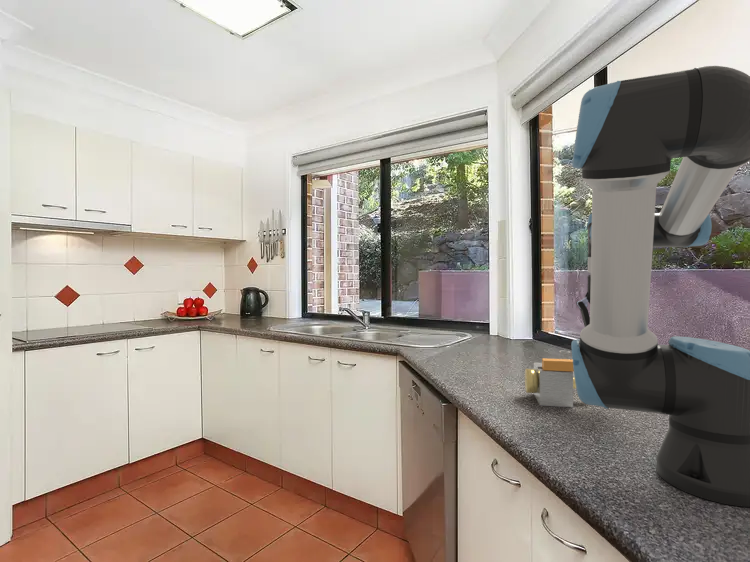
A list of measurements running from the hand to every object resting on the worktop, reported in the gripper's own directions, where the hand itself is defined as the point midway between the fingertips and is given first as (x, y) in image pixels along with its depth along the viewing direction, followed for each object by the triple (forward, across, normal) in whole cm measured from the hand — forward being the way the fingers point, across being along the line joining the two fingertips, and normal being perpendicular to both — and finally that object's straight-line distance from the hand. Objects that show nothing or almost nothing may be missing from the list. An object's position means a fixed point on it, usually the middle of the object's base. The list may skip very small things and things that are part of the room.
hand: (603, 366), depth 104 cm
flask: (+11, +5, -22) cm, 24 cm away
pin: (+9, +10, -3) cm, 14 cm away
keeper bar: (+1, +9, 0) cm, 10 cm away
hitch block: (+10, +12, -3) cm, 16 cm away
